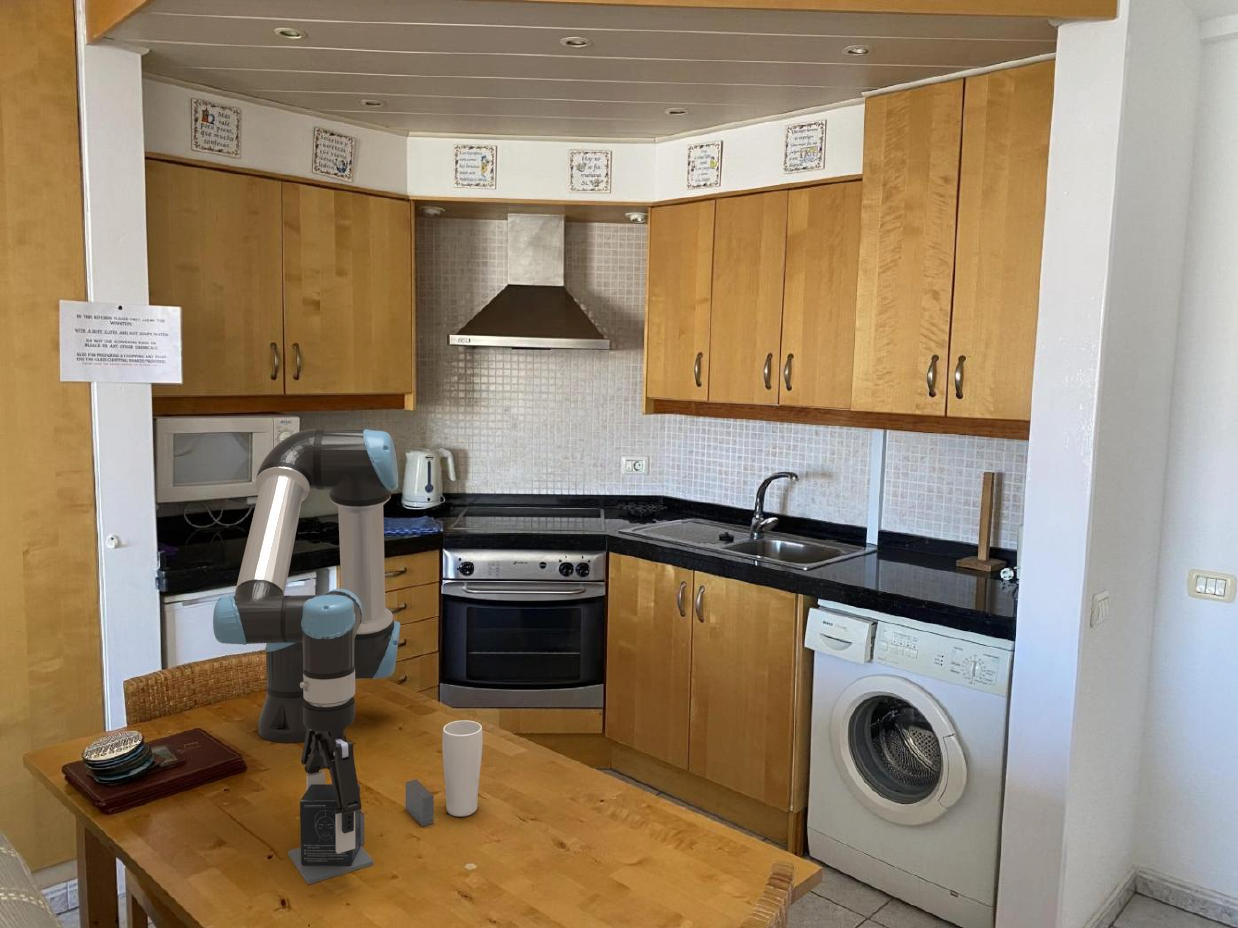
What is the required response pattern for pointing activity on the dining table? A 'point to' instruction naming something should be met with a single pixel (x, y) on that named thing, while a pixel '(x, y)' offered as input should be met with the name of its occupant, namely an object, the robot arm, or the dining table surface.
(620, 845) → the dining table surface
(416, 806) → the vise
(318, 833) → the box
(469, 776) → the drinking glass
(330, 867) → the mat
